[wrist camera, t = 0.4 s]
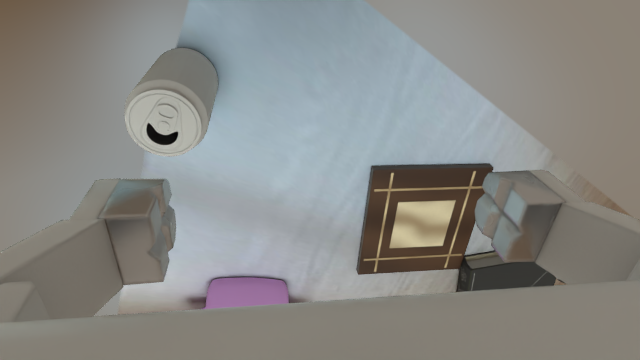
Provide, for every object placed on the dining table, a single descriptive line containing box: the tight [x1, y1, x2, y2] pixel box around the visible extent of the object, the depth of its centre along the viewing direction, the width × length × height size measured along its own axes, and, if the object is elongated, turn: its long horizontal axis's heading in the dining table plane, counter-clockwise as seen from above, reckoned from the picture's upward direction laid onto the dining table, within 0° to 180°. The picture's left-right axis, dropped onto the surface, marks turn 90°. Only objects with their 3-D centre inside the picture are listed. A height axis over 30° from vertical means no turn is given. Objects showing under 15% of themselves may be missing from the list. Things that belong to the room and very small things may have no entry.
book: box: [457, 251, 556, 292], centre depth 65 cm, size 22×15×3 cm
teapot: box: [202, 277, 289, 309], centre depth 55 cm, size 18×10×10 cm, turn 80°
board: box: [357, 164, 493, 274], centre depth 55 cm, size 18×16×1 cm
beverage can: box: [125, 48, 218, 157], centre depth 35 cm, size 6×6×12 cm
